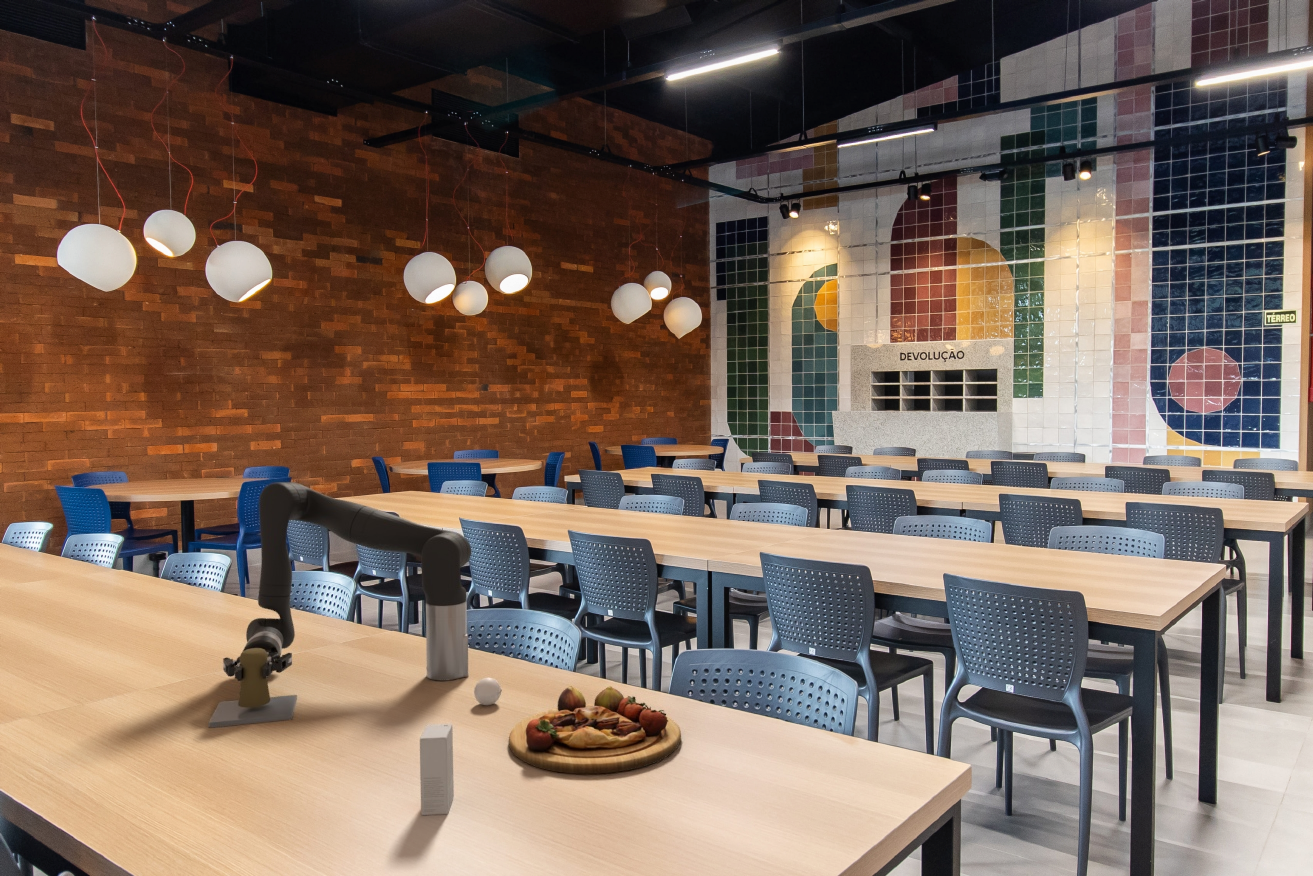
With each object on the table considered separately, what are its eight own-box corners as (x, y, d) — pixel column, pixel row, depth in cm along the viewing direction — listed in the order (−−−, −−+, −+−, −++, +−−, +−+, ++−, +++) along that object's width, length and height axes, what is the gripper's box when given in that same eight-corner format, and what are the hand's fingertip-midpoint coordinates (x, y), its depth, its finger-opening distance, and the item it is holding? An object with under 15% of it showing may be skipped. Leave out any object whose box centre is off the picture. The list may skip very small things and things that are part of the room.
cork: (257, 708, 177) (257, 654, 176) (231, 706, 178) (230, 652, 177) (276, 698, 183) (275, 646, 182) (250, 696, 184) (250, 644, 183)
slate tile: (297, 699, 189) (297, 694, 189) (291, 719, 176) (291, 714, 176) (219, 706, 184) (219, 702, 184) (208, 727, 172) (208, 722, 172)
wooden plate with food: (544, 793, 143) (543, 742, 142) (487, 730, 171) (486, 688, 171) (713, 756, 157) (713, 711, 157) (634, 704, 186) (634, 665, 185)
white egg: (495, 710, 182) (495, 683, 181) (469, 708, 183) (469, 681, 183) (509, 698, 189) (508, 672, 189) (484, 696, 190) (484, 670, 190)
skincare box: (426, 798, 140) (426, 724, 139) (454, 797, 140) (453, 723, 140) (419, 816, 134) (418, 738, 133) (448, 815, 134) (447, 737, 134)
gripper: (226, 637, 191) (212, 659, 175) (296, 632, 196) (289, 653, 179) (226, 671, 192) (213, 696, 175) (297, 666, 196) (290, 690, 180)
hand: (252, 674), depth 177 cm, fingers closed on cork, 4 cm apart
